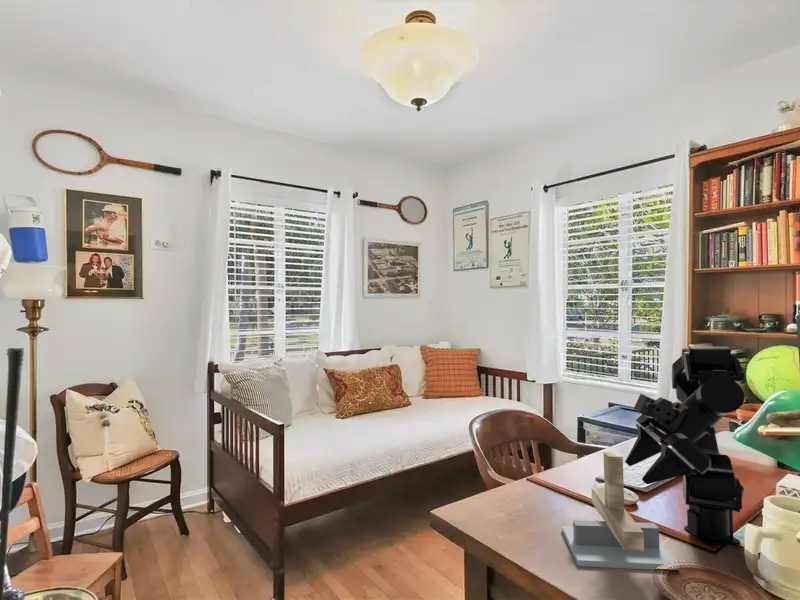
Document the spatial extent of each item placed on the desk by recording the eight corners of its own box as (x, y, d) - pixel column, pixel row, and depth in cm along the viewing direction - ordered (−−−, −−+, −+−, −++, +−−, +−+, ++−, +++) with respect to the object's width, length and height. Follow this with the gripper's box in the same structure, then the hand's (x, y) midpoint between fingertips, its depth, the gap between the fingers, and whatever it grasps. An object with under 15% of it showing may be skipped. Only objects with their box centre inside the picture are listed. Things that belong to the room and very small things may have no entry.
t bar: (607, 502, 91) (605, 439, 91) (644, 551, 73) (641, 472, 73) (591, 502, 91) (590, 439, 91) (624, 550, 73) (621, 472, 74)
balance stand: (649, 534, 87) (648, 510, 87) (679, 570, 75) (678, 543, 75) (562, 531, 89) (561, 508, 89) (578, 566, 77) (577, 539, 77)
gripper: (645, 372, 91) (588, 427, 93) (686, 388, 73) (615, 455, 74) (690, 413, 89) (631, 467, 91) (744, 439, 71) (669, 507, 73)
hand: (635, 472), depth 82 cm, fingers open, 9 cm apart
